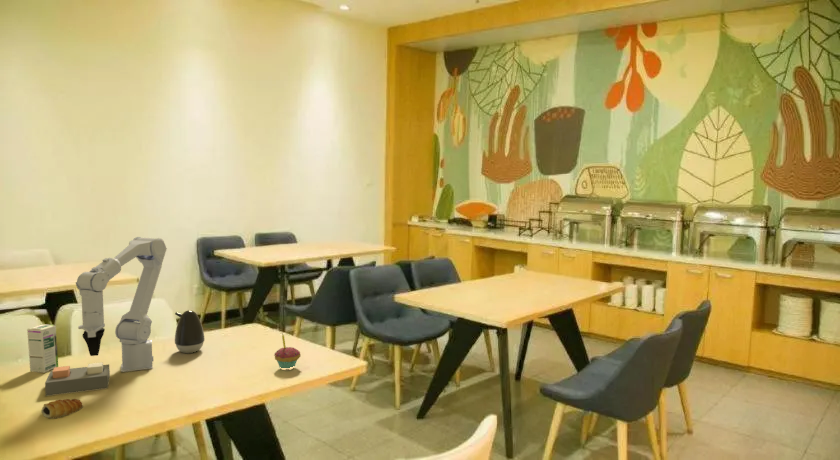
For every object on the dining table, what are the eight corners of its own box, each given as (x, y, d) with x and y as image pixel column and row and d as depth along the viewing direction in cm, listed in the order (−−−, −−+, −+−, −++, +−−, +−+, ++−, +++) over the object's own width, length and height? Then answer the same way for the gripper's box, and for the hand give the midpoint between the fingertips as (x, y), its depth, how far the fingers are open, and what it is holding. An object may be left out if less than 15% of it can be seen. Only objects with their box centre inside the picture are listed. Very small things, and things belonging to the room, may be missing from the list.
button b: (70, 376, 180) (69, 365, 180) (68, 381, 176) (68, 369, 176) (55, 378, 178) (54, 367, 178) (53, 383, 175) (52, 371, 174)
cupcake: (269, 370, 196) (269, 335, 195) (284, 362, 204) (284, 329, 203) (291, 374, 193) (290, 338, 192) (305, 366, 201) (305, 332, 199)
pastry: (75, 404, 166) (74, 391, 166) (87, 410, 163) (87, 396, 162) (39, 415, 158) (38, 402, 158) (51, 422, 155) (51, 408, 154)
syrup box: (44, 373, 190) (42, 329, 189) (29, 371, 191) (26, 328, 190) (58, 367, 196) (56, 324, 194) (43, 365, 197) (41, 323, 195)
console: (109, 376, 188) (109, 364, 187) (107, 388, 178) (107, 375, 178) (51, 383, 181) (50, 370, 181) (45, 396, 171) (45, 382, 171)
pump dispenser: (183, 346, 221) (182, 306, 219) (209, 347, 219) (209, 307, 218) (168, 354, 211) (167, 313, 209) (195, 356, 209) (194, 314, 208)
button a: (103, 373, 184) (103, 362, 184) (102, 377, 180) (102, 366, 180) (88, 374, 182) (88, 363, 182) (87, 378, 179) (87, 367, 178)
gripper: (80, 306, 184) (82, 349, 185) (75, 317, 171) (77, 362, 172) (105, 305, 187) (107, 346, 188) (102, 315, 174) (104, 360, 175)
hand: (94, 354), depth 181 cm, fingers closed
